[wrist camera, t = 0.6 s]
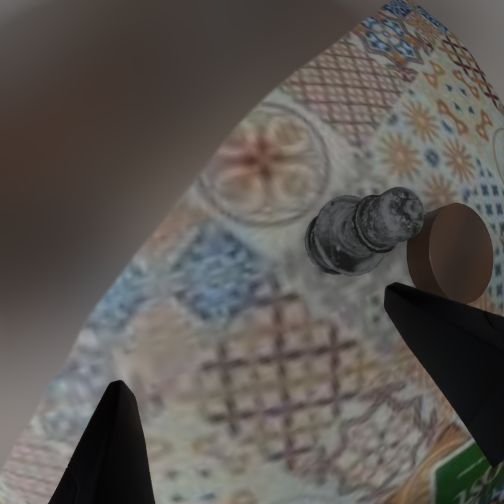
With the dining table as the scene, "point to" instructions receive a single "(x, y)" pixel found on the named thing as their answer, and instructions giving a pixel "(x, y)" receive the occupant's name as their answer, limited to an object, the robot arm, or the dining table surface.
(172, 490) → the dining table surface
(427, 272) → the walnut puck
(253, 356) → the dining table surface
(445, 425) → the dining table surface
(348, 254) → the grey stone chess piece
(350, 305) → the dining table surface
